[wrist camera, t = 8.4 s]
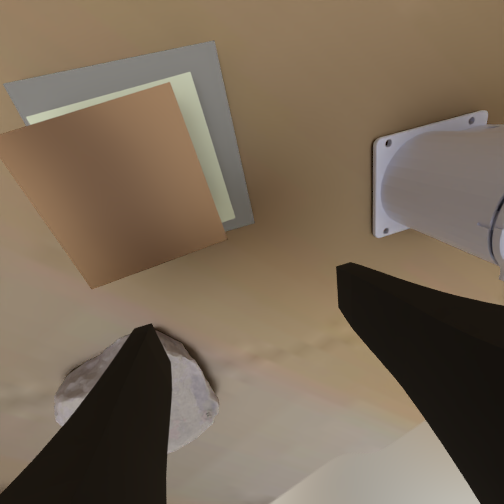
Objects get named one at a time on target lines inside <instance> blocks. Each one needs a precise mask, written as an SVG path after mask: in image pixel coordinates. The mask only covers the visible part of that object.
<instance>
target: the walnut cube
mask: <svg viewBox="0 0 504 504" xmlns="http://www.w3.org/2000/svg"><path fill="white" fill-rule="evenodd" d="M0 159H1V160H2V162H3V163H4V164H5V166H6V167H7V169H8V170H9V172H10V173H11V174H12V176H13V177H14V179H15V180H16V182H17V183H18V184H19V186H20V187H21V189H22V190H23V192H24V193H25V195H26V196H27V197H28V199H29V200H30V202H31V203H32V205H33V206H34V207H35V209H36V210H37V212H38V213H39V215H40V216H41V217H42V219H43V220H44V222H45V223H46V225H47V226H48V227H49V229H50V230H51V232H52V233H53V235H54V236H55V237H56V239H57V240H58V242H59V243H60V245H61V246H62V247H63V249H64V250H65V252H66V253H67V255H68V256H69V258H70V259H71V260H72V262H73V263H74V265H75V266H76V268H77V269H78V270H79V272H80V273H81V275H82V276H83V278H84V279H85V280H86V282H87V283H88V285H89V286H90V288H91V289H94V288H97V287H100V286H102V285H105V284H108V283H111V282H113V281H116V280H119V279H121V278H124V277H127V276H130V275H132V274H135V273H138V272H140V271H143V270H146V269H149V268H151V267H154V266H157V265H159V264H162V263H165V262H168V261H170V260H173V259H176V258H178V257H181V256H184V255H187V254H189V253H192V252H195V251H197V250H200V249H203V248H206V247H208V246H211V245H214V244H216V243H219V242H222V241H225V240H227V239H228V238H227V236H226V233H225V230H224V228H223V225H222V222H221V219H220V217H219V214H218V211H217V209H216V206H215V203H214V200H213V198H212V195H211V192H210V190H209V187H208V184H207V181H206V179H205V176H204V173H203V171H202V168H201V165H200V162H199V160H198V157H197V154H196V151H195V149H194V146H193V143H192V141H191V138H190V135H189V132H188V130H187V127H186V124H185V122H184V119H183V116H182V113H181V111H180V108H179V105H178V103H177V100H176V97H175V94H174V92H173V89H172V86H171V84H170V82H168V83H165V84H161V85H158V86H155V87H152V88H148V89H145V90H142V91H139V92H135V93H132V94H129V95H126V96H122V97H119V98H116V99H113V100H109V101H106V102H103V103H100V104H97V105H93V106H90V107H87V108H84V109H80V110H77V111H74V112H71V113H67V114H64V115H61V116H58V117H54V118H51V119H48V120H45V121H41V122H38V123H35V124H32V125H29V126H25V127H22V128H19V129H16V130H12V131H9V132H6V133H3V134H0Z"/></svg>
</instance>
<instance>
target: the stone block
mask: <svg viewBox="0 0 504 504" xmlns="http://www.w3.org/2000/svg"><path fill="white" fill-rule="evenodd" d="M155 331H156V330H155ZM156 333H157V335H158V337H159V339H160V341H161V343H162V345H163V347H164V349H165V351H166V353H167V355H168V357H169V359H170V361H171V372H172V401H171V415H170V427H169V439H168V452H167V454H169V453H170V452H173V451H176V450H178V449H180V448H181V447H183V446H185V445H187V444H188V443H189V442H191V441H193V440H195V439H196V438H197V437H198V436H199V435H201V434H202V433H203V432H204V431H205V430H206V429H207V428H208V427H209V426H210V425H212V424H213V423H214V417H215V416H216V415H217V414H218V413H219V400H218V397H217V396H216V395H215V393H214V391H213V390H212V388H211V387H210V385H209V382H208V381H207V380H206V378H205V377H204V374H203V371H202V370H201V369H200V367H199V366H198V364H197V362H196V361H195V360H194V359H193V358H192V357H191V356H190V355H189V354H188V351H187V350H186V349H185V348H184V346H183V344H182V343H181V342H180V341H177V340H174V339H172V338H171V337H169V336H167V335H165V334H162V333H161V332H159V331H156ZM129 336H130V334H129V335H126V336H124V337H122V338H119V339H118V340H117V341H116V342H114V343H113V344H112V345H111V346H109V347H108V348H106V349H105V350H104V351H103V353H102V354H100V355H98V356H97V357H95V358H93V359H90V360H89V361H87V362H85V363H84V364H82V365H81V366H79V367H78V368H77V369H75V370H74V371H73V372H71V373H69V375H68V376H67V377H66V378H65V379H64V381H63V383H62V384H61V386H60V387H59V389H58V391H57V392H56V394H55V399H54V401H55V405H54V409H55V418H56V422H58V423H59V424H60V425H61V426H63V425H64V424H65V423H66V422H67V420H68V419H69V418H70V417H71V415H72V414H73V413H74V412H75V410H76V409H77V408H78V406H79V405H80V404H81V403H82V401H83V400H84V399H85V397H86V396H87V395H88V393H89V392H90V391H91V389H92V388H93V387H94V385H95V384H96V383H97V382H98V380H99V379H100V377H101V376H102V374H103V373H104V372H105V370H106V369H107V367H108V366H109V365H110V363H111V362H112V360H113V359H114V357H115V356H116V354H117V353H118V352H119V350H120V349H121V347H122V346H123V344H124V343H125V341H126V340H127V338H128V337H129Z"/></svg>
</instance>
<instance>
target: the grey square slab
mask: <svg viewBox="0 0 504 504" xmlns="http://www.w3.org/2000/svg"><path fill="white" fill-rule="evenodd" d="M187 72H191V75H192V78H193V82H194V85H195V88H196V91H197V95H198V98H199V101H200V104H201V108H202V111H203V114H204V117H205V121H206V124H207V127H208V130H209V134H210V137H211V140H212V143H213V147H214V150H215V153H216V156H217V159H218V163H219V166H220V169H221V172H222V176H223V179H224V182H225V185H226V189H227V192H228V195H229V198H230V202H231V205H232V208H233V211H234V215H235V218H234V219H231V220H228V221H225V222H222V225H223V228H224V230H225V232H226V231H229V230H233V229H236V228H239V227H243V226H246V225H250V224H253V223H255V222H254V217H253V213H252V208H251V204H250V199H249V195H248V190H247V186H246V181H245V177H244V172H243V168H242V163H241V159H240V154H239V150H238V145H237V141H236V136H235V132H234V127H233V123H232V118H231V114H230V109H229V105H228V100H227V96H226V91H225V87H224V82H223V77H222V73H221V68H220V64H219V59H218V55H217V50H216V46H215V41H209V42H205V43H200V44H195V45H190V46H185V47H180V48H175V49H170V50H165V51H161V52H156V53H151V54H146V55H141V56H136V57H131V58H126V59H122V60H117V61H112V62H107V63H102V64H97V65H92V66H87V67H82V68H78V69H73V70H68V71H63V72H58V73H53V74H48V75H43V76H39V77H34V78H29V79H24V80H19V81H14V82H9V83H4V84H3V85H4V87H5V89H6V91H7V92H8V94H9V96H10V98H11V99H12V101H13V103H14V105H15V107H16V108H17V110H18V112H19V114H20V116H21V117H22V119H23V121H24V123H25V125H26V126H29V125H30V123H29V122H28V120H27V118H26V117H27V116H31V115H35V114H38V113H42V112H45V111H49V110H53V109H56V108H60V107H64V106H67V105H71V104H74V103H78V102H82V101H85V100H89V99H93V98H96V97H100V96H104V95H107V94H111V93H114V92H118V91H122V90H125V89H129V88H133V87H136V86H140V85H143V84H147V83H151V82H154V81H158V80H162V79H165V78H169V77H172V76H176V75H180V74H183V73H187Z"/></svg>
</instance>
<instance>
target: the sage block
mask: <svg viewBox="0 0 504 504" xmlns="http://www.w3.org/2000/svg"><path fill="white" fill-rule="evenodd" d="M168 82H170V84H171V86H172V89H173V92H174V94H175V97H176V100H177V103H178V105H179V108H180V111H181V113H182V116H183V119H184V122H185V124H186V127H187V130H188V132H189V135H190V138H191V141H192V143H193V146H194V149H195V151H196V154H197V157H198V160H199V162H200V165H201V168H202V171H203V173H204V176H205V179H206V181H207V184H208V187H209V190H210V192H211V195H212V198H213V200H214V203H215V206H216V209H217V211H218V214H219V217H220V219H221V222H225V221H228V220H231V219H234V218H235V215H234V211H233V208H232V205H231V202H230V198H229V195H228V192H227V189H226V185H225V182H224V179H223V176H222V172H221V169H220V166H219V163H218V159H217V156H216V153H215V150H214V147H213V143H212V140H211V137H210V134H209V130H208V127H207V124H206V121H205V117H204V114H203V111H202V108H201V104H200V101H199V98H198V95H197V91H196V88H195V85H194V82H193V78H192V75H191V72H187V73H183V74H180V75H176V76H172V77H169V78H165V79H162V80H158V81H154V82H151V83H147V84H143V85H140V86H136V87H133V88H129V89H125V90H122V91H118V92H114V93H111V94H107V95H104V96H100V97H96V98H93V99H89V100H85V101H82V102H78V103H74V104H71V105H67V106H64V107H60V108H56V109H53V110H49V111H45V112H42V113H38V114H35V115H31V116H27V117H26V118H27V120H28V122H29V123H30V125H32V124H35V123H38V122H41V121H45V120H48V119H51V118H54V117H58V116H61V115H64V114H67V113H71V112H74V111H77V110H80V109H84V108H87V107H90V106H93V105H97V104H100V103H103V102H106V101H109V100H113V99H116V98H119V97H122V96H126V95H129V94H132V93H135V92H139V91H142V90H145V89H148V88H152V87H155V86H158V85H161V84H165V83H168Z"/></svg>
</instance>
